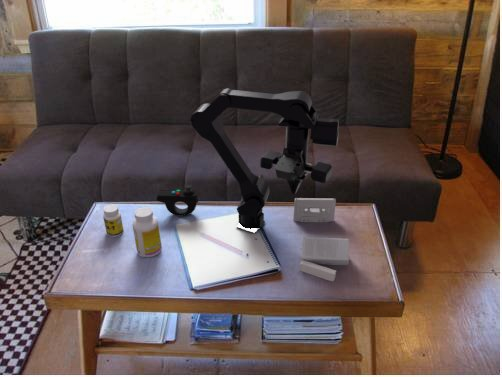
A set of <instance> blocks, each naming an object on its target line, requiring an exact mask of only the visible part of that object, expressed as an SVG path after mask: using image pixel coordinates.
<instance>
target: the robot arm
mask: <svg viewBox="0 0 502 377" xmlns="http://www.w3.org/2000/svg"><path fill="white" fill-rule="evenodd" d="M227 109H237V110H238V109H239V110H244V111H245V110H246V111H254V112H263V113H264V112H265V113H272V114H276V115H277V116H279V117H281V118H280V120H279V122H278V126H279V127H285V128H286V130H285V146H283V150H282V153H281V152H277V151H273V150H268V151H267V152H266V153H264V154H263V155H262V157H260V159H259V167H260V168H261V169H266V170H271V169H273V167H274V165H275V167H274V170H275V176H276V177H277V178H278V179H283V180H286V181H287V183H288V185H289V189H290V191H291V194H293V195H296V194H297V192H298V190H299V188H300V186H301V184H302V182H303V181H305V180H306V179H307V178H308V177H309V175H310V179H311V180H312V181H313V182H317V183H321V184H325V183H327V181H328V180H329V179H330V177H331V176H332V175H333V170H334V168H333V167H332V165H331V164H330V163H325V162H322V161H321V162H320V161H318V162H317V163H316V164H315V165H312V163H309V162H308V161H309V156H308V151H309V150H308V148H309V147H310V146H311V145H310V142H309V137H310V141H311V143H312V144H314V145H316V146H326V147H334V148H335V147H338V141H339V135H340V134H339V133H340V128H339V127H340V126H339V125H340V124H339V123H340V122H339V121H340V119H338V118H323V117H321V118H320V117H319V115H320V114H319V113H318V110H316V109H315V107H314V105H313V104H312V98H311V96H310V95H309V93H308V92H306V91H303V90H294V91H293V90H292V91H286V92H282V93H267V92H256V91H248V90H246V91H245V90H239V89H238V90H237V89H232V88H228V87H227V88H224V89H222V91H220V93H219V94H218V95H217V96H216V97H214V98H213V99H212V100H211V101H210V102H209V103H203V104H201V105H200V106H199V107H198V108H197V109H196V110H195V111H194V112H193V113H192V114H191V117H190V121H189V122H190V126H191V128H192V129H193V130H194V131H195V132H196V133H197V134H198V135H199V136H200V137H201V138H202V139H203V140H206V141H208V142H209V143H210V144H211V145H212V147H213V148H214V150H215V151H216V152H217V154H218V156H219V157H220V158H221V160H222V162H224V165H225V166H226V167H227V169H228V170H229V172H230V173H231V175H232V176H233V178H234V179H235V180H236V182H237V184H238V185H239V191H240V195H241V200H240V201H239V204H238V205H237V207H236V211H237V213H238V223H240V224H241V225H242V226H243V227H245V228H250V229H251V228H260V229H262V227H263V226H264V224H265V222H266V221H265V214H264V212H263V208H264V207H265V205H266V204H267V203H266V202H267V200H268V197H269V195H270V188H269V187H270V184H269V183H268V182H267V181H266V179H265V177H264V175H263V174H260V175H259V176H257V175H256V174H254V173H253V172H252V171H251V169H250V167H249V165H248V164H247V163H246V162H245V160H244V159H243V157H242V155H241V154H240V153H239V151H238V149H237V148H236V147H235V145H234V144H233V142H232V140H231V139H230V137H229V135H228V134H227V133H226V131H225V126H224V123H223V119H222V117H221V114H222V113H223V112H225V111H226V110H227ZM309 130H310V131H309ZM309 132H310V134H309ZM309 135H310V136H309Z"/></svg>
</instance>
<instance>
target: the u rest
mask: <svg viewBox="0 0 502 377" xmlns="http://www.w3.org/2000/svg"><path fill="white" fill-rule="evenodd" d="M299 264H300V265H299V272H300V271H301V272H303V273H306V274H308V275H311V276H315V277H318V278H320V279H323V280H326V281H330V282H334V281H335V279H336V274H337V270H335V269H331V268H329V267H326V266H323V265H321V264H314V263H311V262H308V261H305V260H302V259H301V262H300V263H299Z"/></svg>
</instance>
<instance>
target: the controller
mask: <svg viewBox="0 0 502 377" xmlns="http://www.w3.org/2000/svg"><path fill="white" fill-rule="evenodd" d="M198 192H199V191H198V189H193V188H192V184H186V185H184V188H183V189H161V190H159V191H158V192H157V194H156V201H157V202H160V203H163V204H164V205H165V207H166V210H167V211H168V212H169V213H170V214H172V215H174V216H177V217H186V216H188V215H189V216H190V215H191V214H192V213H193V212H194V211H195V210H196V207H197V203H199V195H198ZM176 203H184V204H186V205H187V206H186V207H185V208H179V207H178V206H177V205H176Z"/></svg>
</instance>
